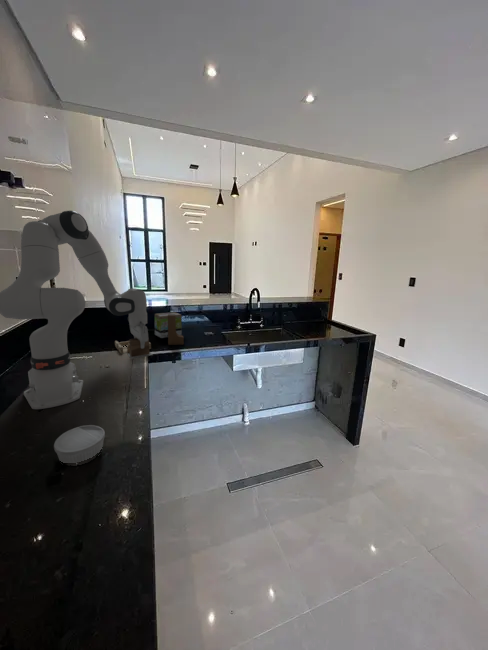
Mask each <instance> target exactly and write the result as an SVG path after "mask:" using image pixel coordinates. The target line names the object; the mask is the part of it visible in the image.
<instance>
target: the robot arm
mask: <svg viewBox="0 0 488 650" xmlns="http://www.w3.org/2000/svg"><path fill="white" fill-rule="evenodd" d="M22 228H23V229H22V234H21V241H20V247H21V248H20V249H21V250H20V251H21V253H20V254H21V257H20V258H21V263H20V271H19V274H18V276H17V278H16V279H15V280H14V281H13V283H11V284H10V285H9V286H8V287H6V288H5V289H2V290H1V291H0V315H1V316H2V317H4V318H6V319H12V320H13V319H15V320H36V319H37V320H39V319H46V320H47V324H45V325H44V326H41V327H39V328H37V329H36V330H34V331H32V332H31V334H30V336H29V339H28V340H29V347H30V352H31V356H30V364H31V368H30V369H29V370H28V371H27V374H28V375H27V376H28V381H29V382H28V383H29V384H28V389H26V390H25V391H23V396H24V398H25V399H26V401H27V402H28V404H29V406H30V407H31V409H32V410H42V409H50V408H54V407H59V406H63V405H67V404H69V403H72V402H75V401H77V400H79V399H80V398H81V395H82V390H83V386H84V380H83V379H79V378H80V376H79V375H77V373H78V370H77V368H76V364H75V363H73V362H72V361H71V354H70V350H68V349H69V348H68V330H69V328H70V325H71V324H72V322H73V321H74V320H75V319H76V318H77V317H79V316H80V315H81V314H82V313H83V312H84V310H85V309H86V298H85V296H84V295H83V293H81V291H79V289H74V288H67V287H42V286H43V285H44V284H45V283H47V282H48V281H50V280H53V279H55V278H57V277H58V275H59V274H60V271H61V267H60V266H61V265H60V251H59V246H61V245H64V244H68V245H69V246H70V247H71V249H72V250H73V253H74V254H75V257H76V258H77V260H78V262H79V263H80V265H81V266H82V268H83V269H84V270H85V271H86V272H87V273H88V275H90V276H91V277H92V278H93V280H94V281H95V282H96V284H97V285H98V288H99V290H100V291H101V293H102V295H103V302H104V303H103V304H104V307H105V308H106V309H107V311H109V312H110V313H111V314H113V316H118V317H120V316H121V317H122V316H126V315H128V317H127V321H128V323H129V324H128V325H129V330H130V333H131V335H133V339H135V338H137V339H138V340H140V348H141V349H143V348H144V345H145V342H146V341H148V338H149V332H148V327H147V326H146V324H148V312H147V307H148V305H147V296H146V292H145V291H144V290H142V289H139V288H134V287H133V288H132V287H131V288H129V289H127V290H126V291H124V292H122V293H119V291H117V290H116V287H115V285H114V284H113V281H112V280H111V278H110V276H109V272H108V271H109V262H108V258H107V256H106V253H105V252H104V249H103V248H102V246H101V244H100V243H99V241H98V240H97V238H96V237H95V235H94V234H93V233H92V232H91V230H89V225H88V223H87V220H86V219H85V218H84V216H82V215H81V214H80V213H78V212H77V211H76V210H64V211H62V212H59V213H54V214H51V215H48V216H46V217H44V218H43V219H39V220H35V221H33V220H32V221H28V222H26V223H25V224H24V226H23V227H22Z"/></svg>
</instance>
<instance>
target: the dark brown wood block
mask: <svg viewBox="0 0 488 650" xmlns="http://www.w3.org/2000/svg"><path fill="white" fill-rule="evenodd" d="M128 341H129V344H130V355H131V356H132V357H134V356H140V355H145V354H149V352H150V349H149V342H150V339H149V337H148V341H146V342H145V345H144V348H143V349H141V348H140V340H138V339H137V338H135V339H134V338H130V339H129V340H128Z"/></svg>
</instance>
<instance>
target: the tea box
mask: <svg viewBox="0 0 488 650" xmlns="http://www.w3.org/2000/svg"><path fill="white" fill-rule="evenodd" d="M168 314H175V315H176V333H177V334H178V335H182V333H183V332H182V328H183V327H182V325H183V324H182V323H183V322H182V321H183V320H182V317H183V316H182V314H180V313H178V312H176V311H175V312H160V313H154V335H155V336H157V337H158V338H160V339H165V338H168Z"/></svg>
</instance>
